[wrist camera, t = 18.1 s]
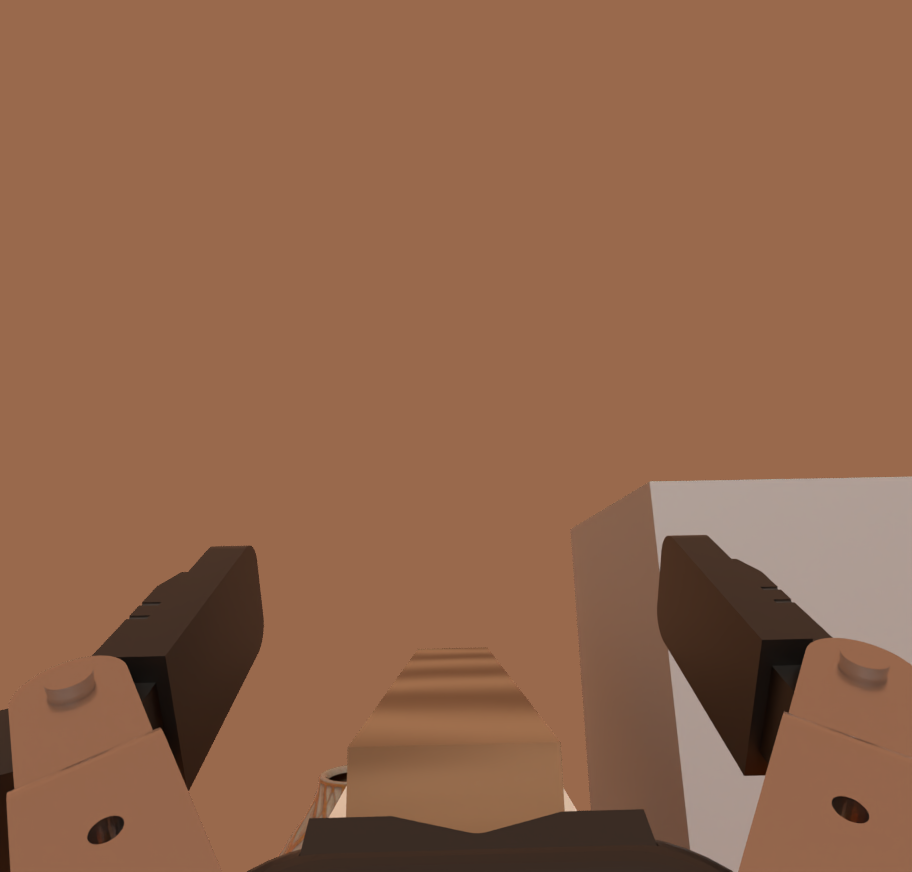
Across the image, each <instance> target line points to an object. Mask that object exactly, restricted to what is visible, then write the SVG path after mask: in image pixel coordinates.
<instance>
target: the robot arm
mask: <svg viewBox="0 0 912 872" xmlns="http://www.w3.org/2000/svg"><path fill="white" fill-rule="evenodd" d="M657 620H658V626H659V630H660V634H661V637H662V639H663V641H664V643H665V645H666V646H667V648H668V650H669V651H670V653H671V655H672V656H673V658H674V660H675V661H676V663H677V665H678V666H679V668H680V670H681V671H682V673H683V675H684V676H685V678H686V680H687V681H688V683H689V685H690V686H691V688H692V690H693V691H694V693H695V695H696V696H697V698H698V700H699V701H700V703H701V705H702V706H703V708H704V710H705V711H706V713H707V715H708V717H709V718H710V720H711V722H712V723H713V725H714V727H715V728H716V730H717V732H718V733H719V735H720V737H721V738H722V740H723V742H724V743H725V745H726V747H727V748H728V750H729V752H730V753H731V755H732V757H733V758H734V760H735V762H736V763H737V765H738V767H739V768H740V770H741V772H742V773H743V775H744V776H764V775H765V779H764V782H763V786H762V789H761V793H760V796H759V800H758V803H757V807H756V810H755V814H754V817H753V821H752V824H751V828H750V831H749V835H748V838H747V842H746V846H745V849H744V853H743V856H742V860H741V863H740V867H739V870H738V872H912V665H911V664H910V663H908V662H907V661H905V660H904V659H902V658H901V657H899V656H897V655H895V654H893V653H891V652H889V651H887V650H885V649H882V648H880V647H877V646H875V645H872V644H868V643H865V642H861V641H857V640H852V639H845V638H833V637H831V636H830V635H829V634H828V633H827V632H826V631H825V630H824V629H823V628H822V627H821V626H820V625H819V624H817V623H816V622H815V621H814V620H813V619H812V618H811V617H810V616H809V615H808V614H807V613H806V612H805V611H803V610H802V609H801V608H800V607H799V606H798V605H797V604H796V603H795V602H791V598H789V597H788V596H787V595H786V594H785V593H784V592H783V591H782V590H781V589H780V590H778V586H777V585H775V584H774V583H773V582H772V581H771V580H770V579H769V578H768V577H767V576H766V575H765V574H764V573H763V572H761V571H760V570H758V569H756V568H754V567H752V566H750V565H748V564H746V563H744V562H742V561H740V560H738V559H731V558H730V557H729V556H728V555H727V554H726V553H725V552H724V551H723V550H722V549H721V548H720V547H719V546H718V545H717V544H716V543H715V542H714V541H713V540H712V539H711V538H710V537H709V536H707V535H673V536H666V537H665V539H664V541H663V544H662V550H661V562H660V575H659V588H658V601H657ZM263 622H264V621H263V610H262V601H261V593H260V584H259V575H258V566H257V558H256V553H255V551H254V549H253V547H252V546H223V547H222V546H218V547H210V548H209V549H208V550H207V551H206V552H205V553H204V555H203V556H202V557H201V558H200V559H199V560H198V562H197V563H196V564H195V565H194V566H193V567H192V568H191V569H190V570H189V572H182V573H179V574H178V575H176V576H174V577H173V578H171V579H169V580H167V581H166V582H164V583H162V584H160V585H159V586H157V587H156V588H155V589H154V590H153V592H152V593H151V594H150V595H149V596H148V597H147V598H146V599H145V600H144V601H143V602H142V606H138V607H137V609H136V610H135V611H134V612H133V613H132V614H131V615H130V618H129V619H126V620H125V621H124V622H123V623H122V625H121V626H120V627H119V628H118V629H117V630H116V631H115V632H114V633H113V634H112V635H111V636H110V637H109V638H108V639H107V640H106V642H105V643H104V644H103V645H102V646H101V647H100V648H99V649H98V650H97V651H96V652H95V653H94V654H93V655H92V656H90V657H83V658H78V659H74V660H71V661H67V662H64V663H61V664H59V665H56V666H54V667H52V668H50V669H47V670H45V671H43V672H42V673H40V674H38V675H36V676H35V677H33V678H32V679H30V680H29V681H28V682H26V683H25V684H24V685H22V686H21V688H19V689H18V691H16V693H15V694H14V695H13V697H12V698H11V700H10V703H9V708H8V709H5V710H1V711H0V872H222V870H221V868H220V865H219V863H218V861H217V858H216V856H215V854H214V851H213V849H212V846H211V844H210V842H209V840H208V837H207V835H206V832H205V830H204V828H203V825H202V823H201V821H200V818H199V815H198V813H197V811H196V808H195V806H194V804H193V801H192V799H191V797H190V794H189V792H188V791H189V789H190V787H191V785H192V783H193V781H194V779H195V778H196V776H197V773H198V772H199V770H200V768H201V766H202V763H203V762H204V760H205V757H206V756H207V754H208V752H209V750H210V748H211V745H212V744H213V742H214V740H215V738H216V736H217V734H218V732H219V730H220V728H221V726H222V724H223V722H224V720H225V718H226V716H227V714H228V712H229V710H230V708H231V706H232V704H233V702H234V700H235V698H236V696H237V694H238V692H239V690H240V688H241V686H242V684H243V682H244V680H245V678H246V676H247V674H248V672H249V670H250V668H251V666H252V664H253V662H254V660H255V658H256V656H257V654H258V652H259V650H260V647H261V643H262V638H263V627H264V625H263ZM247 872H733V871H731V870H730V869H728V868H726V867H725V866H723V865H721V864H719V863H717V862H715V861H713V860H712V859H710V858H708V857H705V856H703V855H701V854H698V853H696V852H694V851H691V850H689V849H687V848H684V847H680V846H677V845H674V844H671V843H668V842H664V841H660V840H655V838H654V836H653V833H652V830H651V828H650V825H649V822H648V820H647V817H646V814H645V812H644V809H632V810H596V811H562V812H558V813H554V814H551V815H547V816H543V817H540V818H536V819H532V820H529V821H525V822H521V823H518V824H514V825H510V826H507V827H503V828H500V829H496V830H492V831H489V832H484V833H469V832H464V831H460V830H455V829H450V828H446V827H441V826H436V825H431V824H427V823H422V822H417V821H413V820H408V819H403V818H398V817H394V816H375V817H339V818H309V821H308V825H307V829H306V832H305V836H304V840H303V844H302V848H301V849H300V850H296V851H293V852H289V853H287V854H284V855H281V856H279V857H276V858H274V859H272V860H269V861H267V862H265V863H263V864H261V865H259V866H257V867H255V868H253V869H251V870H249V871H247Z"/></svg>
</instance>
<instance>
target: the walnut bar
mask: <svg viewBox="0 0 912 872" xmlns="http://www.w3.org/2000/svg"><path fill="white" fill-rule="evenodd" d="M347 759H348V760H347V796H346V817H375V816H394V817H398V818H403V819H408V820H413V821H417V822H422V823H427V824H431V825H436V826H441V827H446V828H450V829H455V830H460V831H464V832H469V833H484V832H489V831H492V830H496V829H500V828H503V827H507V826H510V825H514V824H518V823H521V822H525V821H529V820H532V819H536V818H540V817H543V816H547V815H551V814H554V813H558V812H562V811H565V807H564V791H563V776H562V775H563V774H562V758H561V743H560V741H559V740H558V738H557V737H556V736H555V734H554V733H553V732H552V731H551V729H550V728H549V727H548V725H547V724H546V723H545V722H544V720H543V719H542V718H541V716H540V715H539V714H538V712H537V711H536V710H535V709H534V707H533V706H532V705H531V703H530V702H529V701H528V700H527V698H526V697H525V696H524V694H523V693H522V692H521V691H520V689H519V688H518V687H517V685H516V684H515V683H514V682H513V680H512V679H511V678H510V676H509V675H508V674H507V672H506V671H505V670H504V669H503V667H502V666H501V665H500V664H499V662H498V661H497V660H496V658H495V657H494V656H493V654H492V653H491V652H490V651H489V649H488V648H449V649H418V650H417V651H416V653H415V654H414V656H413V657H412V658H411V660H410V661H409V663H408V664H407V665H406V667H405V668H404V669H403V671H402V672H401V674H400V675H399V676H398V678H397V679H396V681H395V682H394V684H393V685H392V686H391V688H390V689H389V690H388V692H387V693H386V695H385V696H384V698H383V699H382V700H381V702H380V703H379V705H378V706H377V707H376V709H375V710H374V711H373V713H372V714H371V716H370V717H369V719H368V720H367V721H366V723H365V724H364V725H363V727H362V728H361V730H360V731H359V732H358V734H357V735H356V736H355V738H354V739H353V741H352V742H351V744H350V745H349V746H348V757H347Z"/></svg>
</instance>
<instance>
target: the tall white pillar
mask: <svg viewBox="0 0 912 872" xmlns="http://www.w3.org/2000/svg"><path fill="white" fill-rule="evenodd" d="M673 535H707V536H709V537H710V538H711V539H712V540H713V541H714V542H715V543H716V544H717V545H718V546H719V547H720V548H721V549H722V550H723V551H724V552H725V553H726V554H727V555H728V556H729V557H730V558H731V559H738V560H740V561H742V562H744V563H746V564H748V565H750V566H752V567H754V568H756V569H758V570H760V571H761V572H763V573H764V574H765V575H766V576H767V577H768V578H769V579H770V580H771V581H772V582H773V583H774V584H775V585H777V586H778V590H780V589H781V590H782V591H783V592H784V593H785V594H786V595H787V596H788V597H789V598H791V602H795V603H796V604H797V605H798V606H799V607H800V608H801V609H802V610H803V611H805V612H806V613H807V614H808V615H809V616H810V617H811V618H812V619H813V620H814V621H815V622H816V623H817V624H819V625H820V626H821V627H822V628H823V629H824V630H825V631H826V632H827V633H828V634H829V635H830V636H831V637H833V638H845V639H852V640H857V641H861V642H865V643H868V644H872V645H875V646H877V647H880V648H882V649H885V650H887V651H889V652H891V653H893V654H895V655H897V656H899V657H901V658H902V659H904V660H905V661H907V662H908V663H910V664H911V665H912V477H877V478H876V477H875V478H821V479H767V480H714V481H663V482H662V481H659V482H648V483H647V484H645V485H643V486H642V487H640V488H638V489H637V490H635V491H633V492H632V493H630V494H628V495H627V496H625V497H624V498H622V499H620V500H618V501H617V502H615V503H613V504H612V505H610V506H609V507H607V508H605V509H604V510H602V511H600V512H599V513H597V514H595V515H594V516H592V517H590V518H589V519H587V520H586V521H584V522H582V523H580V524H579V525H577V526H576V527H574V528H572V529H571V541H572V555H573V569H574V583H575V597H576V610H577V625H578V637H579V652H580V666H581V680H582V693H583V706H584V707H583V708H584V721H585V735H586V749H587V763H588V776H589V791H590V803H591V811H596V810H632V809H644V812H645V814H646V817H647V820H648V822H649V825H650V828H651V830H652V833H653V836H654V838H655V840H660V841H664V842H668V843H671V844H674V845H677V846H680V847H684V848H687V849H689V850H691V851H694V852H696V853H698V854H701V855H703V856H705V857H708V858H710V859H712V860H713V861H715V862H717V863H719V864H721V865H723V866H725V867H726V868H728V869H730V870H731V871H733V872H738V870H739V867H740V863H741V860H742V856H743V853H744V849H745V846H746V842H747V838H748V835H749V831H750V828H751V824H752V821H753V817H754V814H755V810H756V807H757V803H758V800H759V796H760V793H761V789H762V786H763V782H764V779H765V775H764V776H744V775H743V773H742V772H741V770H740V768H739V767H738V765H737V763H736V762H735V760H734V758H733V757H732V755H731V753H730V752H729V750H728V748H727V747H726V745H725V743H724V742H723V740H722V738H721V737H720V735H719V733H718V732H717V730H716V728H715V727H714V725H713V723H712V722H711V720H710V718H709V717H708V715H707V713H706V711H705V710H704V708H703V706H702V705H701V703H700V701H699V700H698V698H697V696H696V695H695V693H694V691H693V690H692V688H691V686H690V685H689V683H688V681H687V680H686V678H685V676H684V675H683V673H682V671H681V670H680V668H679V666H678V665H677V663H676V661H675V660H674V658H673V656H672V655H671V653H670V651H669V650H668V648H667V646H666V645H665V643H664V641H663V639H662V637H661V634H660V630H659V626H658V620H657V601H658V588H659V575H660V562H661V550H662V544H663V541H664V539H665V537H666V536H673Z"/></svg>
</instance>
